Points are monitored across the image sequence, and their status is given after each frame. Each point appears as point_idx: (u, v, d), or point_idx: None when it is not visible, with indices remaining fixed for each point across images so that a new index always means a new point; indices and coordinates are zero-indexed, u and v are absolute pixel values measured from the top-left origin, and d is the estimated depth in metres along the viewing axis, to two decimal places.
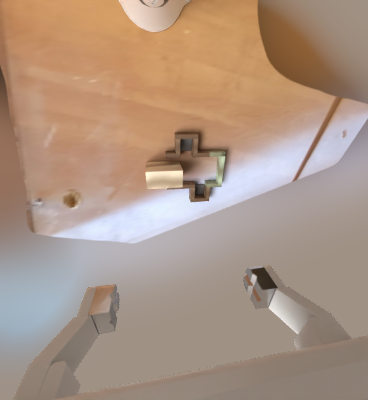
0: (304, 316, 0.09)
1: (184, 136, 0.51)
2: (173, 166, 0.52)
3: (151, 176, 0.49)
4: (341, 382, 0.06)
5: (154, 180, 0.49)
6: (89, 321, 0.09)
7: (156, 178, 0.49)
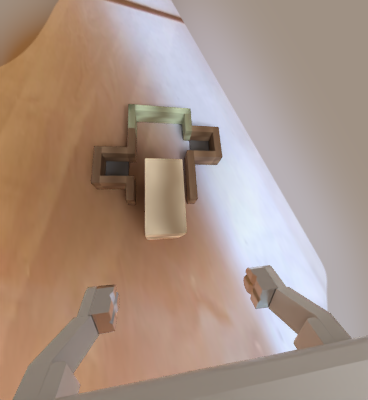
0: (304, 316, 0.09)
1: (95, 168, 0.28)
2: None
3: (157, 222, 0.22)
4: (341, 382, 0.06)
5: (165, 216, 0.22)
6: (89, 321, 0.09)
7: (160, 212, 0.22)
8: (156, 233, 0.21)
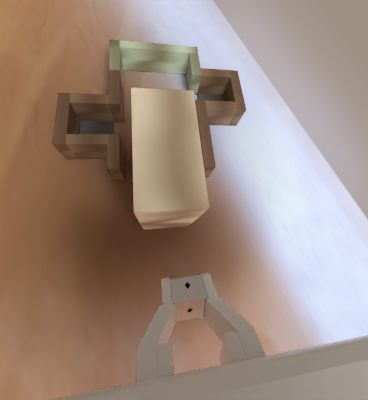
0: (228, 329, 0.08)
1: (60, 123, 0.19)
2: None
3: (155, 190, 0.12)
4: (341, 382, 0.06)
5: (170, 180, 0.12)
6: (173, 309, 0.09)
7: (161, 173, 0.12)
8: (154, 209, 0.12)
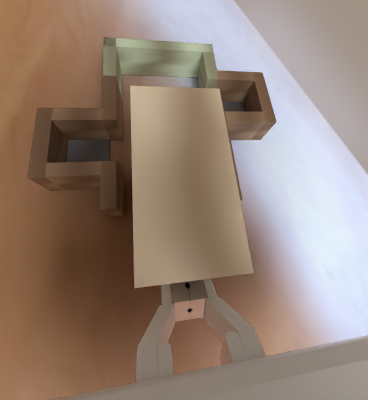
0: (228, 329, 0.08)
1: (38, 149, 0.14)
2: None
3: (168, 246, 0.08)
4: (341, 382, 0.06)
5: (191, 229, 0.08)
6: (173, 309, 0.09)
7: (177, 217, 0.08)
8: (168, 280, 0.07)
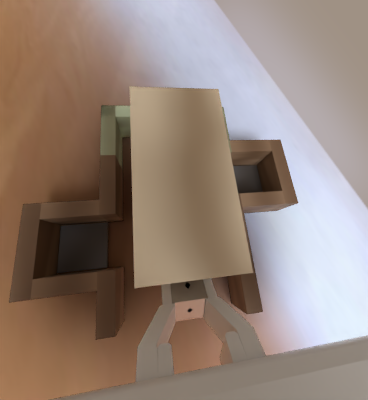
0: (228, 329, 0.08)
1: (22, 261, 0.12)
2: None
3: (167, 246, 0.08)
4: (341, 382, 0.06)
5: (191, 229, 0.08)
6: (173, 309, 0.09)
7: (176, 217, 0.08)
8: (168, 280, 0.07)
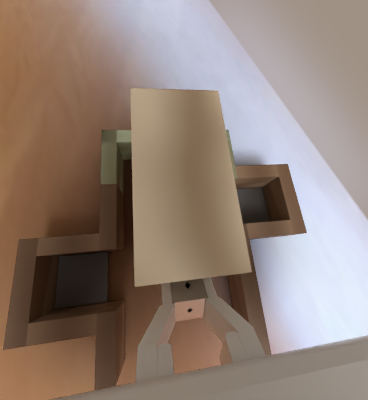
0: (228, 329, 0.08)
1: (18, 303, 0.11)
2: None
3: (167, 246, 0.08)
4: (341, 382, 0.06)
5: (190, 228, 0.08)
6: (173, 309, 0.09)
7: (176, 217, 0.08)
8: (168, 279, 0.07)
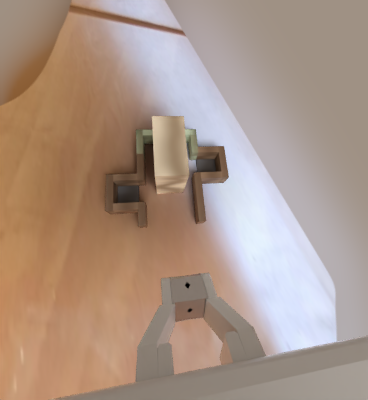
0: (228, 329, 0.08)
1: (108, 196, 0.30)
2: None
3: (164, 166, 0.26)
4: (341, 382, 0.06)
5: (171, 162, 0.27)
6: (173, 309, 0.09)
7: (166, 158, 0.27)
8: (164, 175, 0.26)
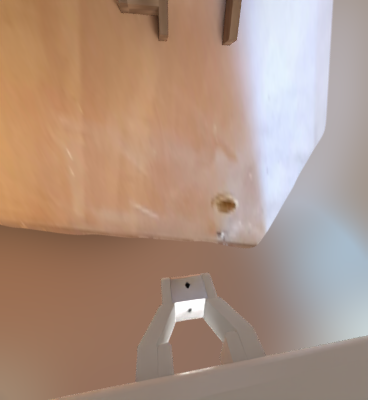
0: (228, 329, 0.08)
1: None
2: None
3: None
4: (341, 382, 0.06)
5: None
6: (173, 309, 0.09)
7: None
8: None
